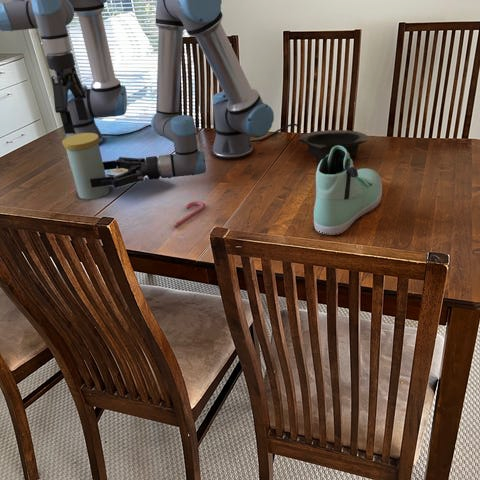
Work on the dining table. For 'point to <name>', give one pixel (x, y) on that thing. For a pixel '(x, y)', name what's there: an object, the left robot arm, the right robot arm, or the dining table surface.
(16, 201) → the dining table surface
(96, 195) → the jar
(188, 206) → the candy cane
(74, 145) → the lid
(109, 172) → the baking ingredient package
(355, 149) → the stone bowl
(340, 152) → the sneaker
